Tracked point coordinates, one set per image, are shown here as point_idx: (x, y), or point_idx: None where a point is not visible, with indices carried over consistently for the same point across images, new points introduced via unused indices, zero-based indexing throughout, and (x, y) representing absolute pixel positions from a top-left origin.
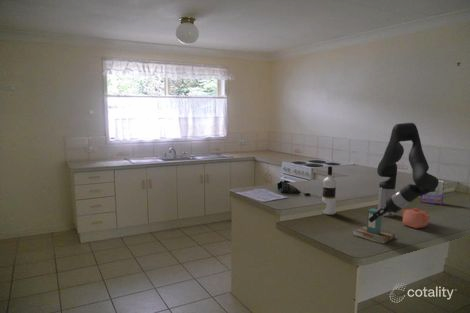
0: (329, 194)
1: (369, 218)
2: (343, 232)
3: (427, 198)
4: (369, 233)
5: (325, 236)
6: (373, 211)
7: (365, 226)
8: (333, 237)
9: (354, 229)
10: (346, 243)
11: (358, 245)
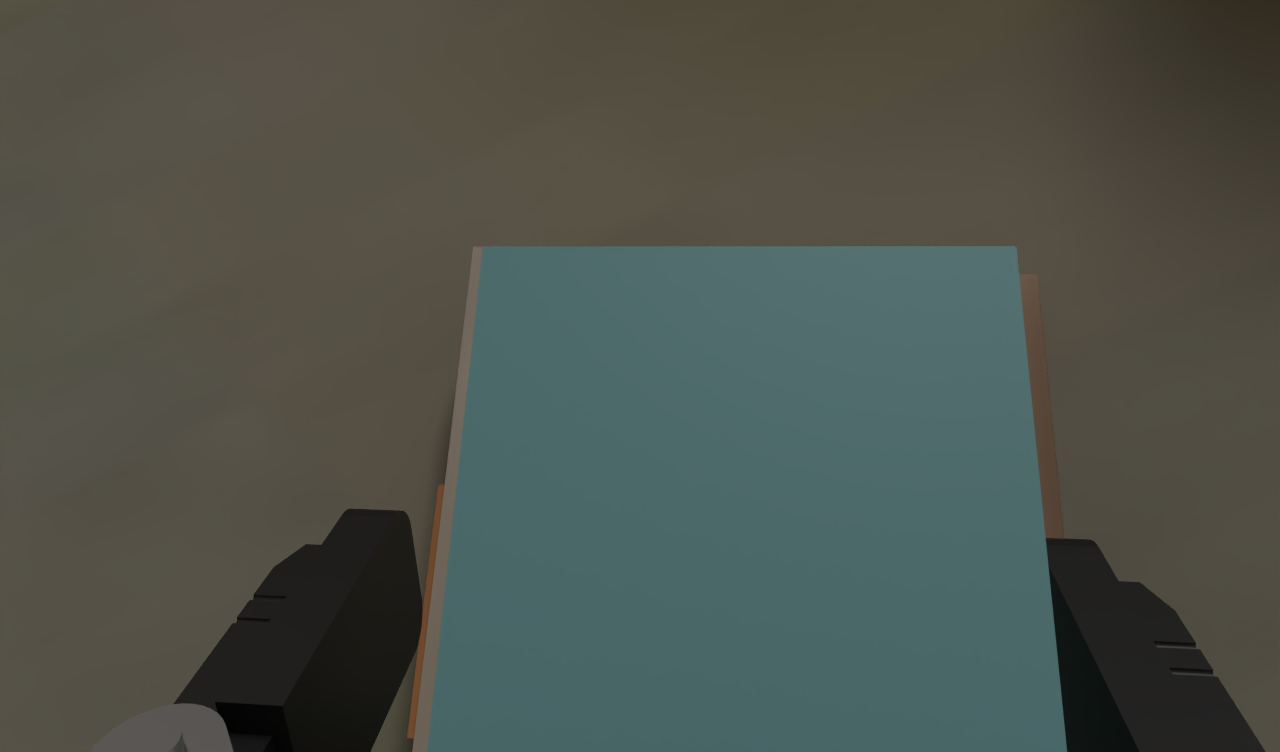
0: None
1: (339, 533)
2: (530, 124)
3: None
4: (434, 641)
5: (136, 42)
6: (448, 558)
7: (1028, 291)
8: (167, 141)
9: (478, 270)
10: (2, 428)
11: (19, 637)
